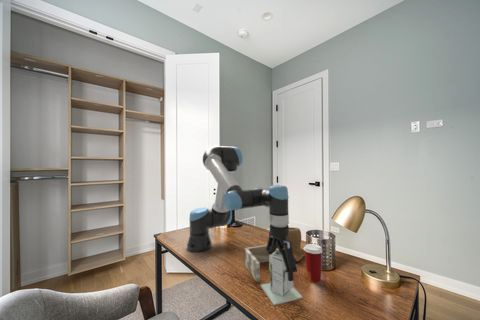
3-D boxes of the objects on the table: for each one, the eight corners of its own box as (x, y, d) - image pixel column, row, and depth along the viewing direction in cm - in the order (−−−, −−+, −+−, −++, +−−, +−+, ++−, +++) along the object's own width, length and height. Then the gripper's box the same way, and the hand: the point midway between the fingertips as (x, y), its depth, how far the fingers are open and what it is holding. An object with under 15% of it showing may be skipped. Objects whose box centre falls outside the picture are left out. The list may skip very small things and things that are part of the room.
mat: (260, 286, 82) (260, 284, 82) (285, 280, 86) (285, 279, 86) (274, 305, 70) (273, 304, 70) (302, 298, 74) (302, 296, 74)
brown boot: (289, 248, 118) (288, 223, 119) (309, 253, 111) (308, 227, 111) (277, 258, 106) (276, 230, 107) (298, 264, 99) (297, 234, 99)
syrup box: (277, 284, 82) (276, 249, 83) (290, 289, 78) (289, 252, 79) (270, 290, 78) (269, 253, 78) (283, 297, 74) (282, 258, 74)
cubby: (244, 264, 100) (244, 248, 101) (270, 259, 105) (270, 244, 105) (256, 282, 85) (256, 263, 85) (287, 275, 89) (286, 257, 89)
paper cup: (325, 278, 87) (324, 246, 87) (319, 286, 81) (318, 252, 81) (308, 272, 92) (307, 242, 92) (301, 279, 86) (300, 247, 86)
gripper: (258, 217, 90) (259, 264, 89) (287, 236, 66) (288, 300, 65) (273, 216, 92) (274, 262, 91) (306, 233, 68) (308, 296, 67)
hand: (280, 278), depth 78 cm, fingers open, 13 cm apart
